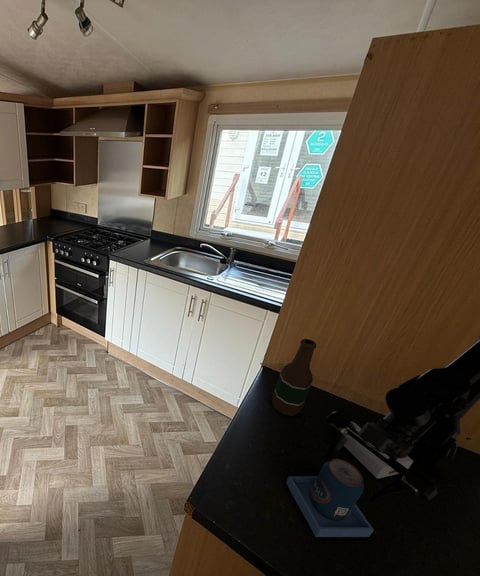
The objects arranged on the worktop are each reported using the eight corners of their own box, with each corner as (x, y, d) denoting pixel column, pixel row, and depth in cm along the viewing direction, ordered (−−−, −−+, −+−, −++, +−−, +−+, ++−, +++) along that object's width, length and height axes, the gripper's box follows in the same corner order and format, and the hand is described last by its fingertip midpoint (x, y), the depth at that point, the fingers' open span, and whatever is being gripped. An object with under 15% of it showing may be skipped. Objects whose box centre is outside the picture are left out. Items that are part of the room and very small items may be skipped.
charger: (349, 422, 89) (406, 472, 76) (322, 427, 87) (375, 479, 74) (356, 410, 87) (415, 459, 74) (328, 415, 85) (383, 466, 72)
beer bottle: (265, 397, 97) (286, 334, 87) (288, 395, 98) (312, 332, 87) (281, 418, 90) (306, 351, 80) (306, 415, 91) (334, 349, 80)
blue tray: (332, 483, 73) (336, 476, 72) (369, 537, 64) (374, 530, 62) (285, 483, 73) (288, 476, 72) (315, 537, 64) (319, 530, 62)
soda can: (302, 487, 72) (319, 453, 66) (335, 493, 71) (354, 458, 66) (316, 520, 66) (336, 486, 60) (352, 527, 65) (375, 492, 59)
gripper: (345, 383, 68) (295, 434, 69) (461, 458, 52) (392, 521, 53) (356, 400, 74) (309, 446, 75) (462, 471, 58) (400, 528, 59)
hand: (346, 479), depth 66 cm, fingers open, 9 cm apart
